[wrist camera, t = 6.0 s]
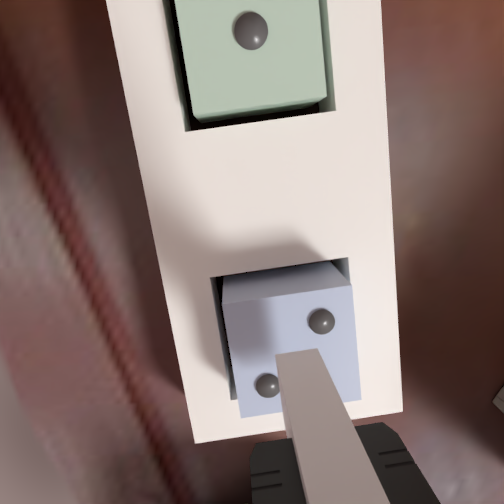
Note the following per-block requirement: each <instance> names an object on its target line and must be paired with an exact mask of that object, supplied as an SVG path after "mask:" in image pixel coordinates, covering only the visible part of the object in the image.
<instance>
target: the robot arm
mask: <svg viewBox="0 0 504 504" xmlns="http://www.w3.org/2000/svg"><path fill="white" fill-rule="evenodd" d="M275 359H276V367H277V374H278V381H279V389H280V396H281V403H282V410H283V418H284V424H285V429H286V434H287V439H281V440H275V441H268V442H262V443H256V445H255V447H254V449H253V452H252V454H251V456H250V473H251V488H252V503H253V504H441V503H440V502H439V500H438V499H437V497H436V495H435V494H434V492H433V490H432V489H431V487H430V486H429V484H428V482H427V481H426V479H425V477H424V476H423V474H422V473H421V471H420V469H419V468H418V466H417V464H415V462H414V460H413V458H412V456H411V455H410V453H409V451H407V448H406V447H405V445H404V443H403V442H402V440H401V438H400V437H399V435H398V434H397V433H396V432H395V431H393V430H392V429H391V428H390V427H388V426H387V425H386V424H384V423H383V422H380V423H374V424H368V425H361V426H355V427H354V425H353V423H352V421H351V419H350V417H349V415H348V412H347V410H346V408H345V406H344V404H343V402H342V400H341V397H340V395H339V393H338V391H337V389H336V387H335V385H334V382H333V380H332V378H331V376H330V374H329V372H328V370H327V368H326V365H325V363H324V361H323V359H322V357H321V355H320V353H319V350H318V348H315V349H308V350H302V351H295V352H289V353H282V354H275Z"/></svg>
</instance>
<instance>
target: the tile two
mask: <svg viewBox="0 0 504 504" xmlns="http://www.w3.org/2000/svg"><path fill="white" fill-rule="evenodd" d="M222 307H223V313H224V319H225V325H226V331H227V338H228V344H229V350H230V356H231V362H232V368H233V374H234V380H235V386H236V392H237V398H238V404H239V410H240V416H241V418H247V417H253V416H260V415H266V414H273V413H279V412H283V410H282V403H281V396H280V389H279V381H278V374H277V367H276V359H275V354H282V353H289V352H295V351H302V350H308V349H315V348H318V350H319V353H320V355H321V357H322V359H323V361H324V363H325V365H326V368H327V370H328V372H329V374H330V376H331V378H332V380H333V382H334V385H335V387H336V389H337V391H338V393H339V395H340V397H341V400H342V402H343V403H344V402H351V401H357V400H362V399H361V387H360V375H359V362H358V350H357V338H356V326H355V314H354V301H353V289H352V284H351V283H350V282H349V281H348V280H347V279H346V278H345V277H344V276H343V275H342V274H341V273H340V272H339V271H338V269H337V268H336V267H335V266H334V265H333V264H332V263H331V262H330V261H326V262H319V263H312V264H306V265H299V266H292V267H285V268H279V269H272V270H265V271H258V272H251V273H245V274H238V275H231V276H224V280H223V296H222Z"/></svg>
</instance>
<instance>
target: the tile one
mask: <svg viewBox="0 0 504 504" xmlns="http://www.w3.org/2000/svg"><path fill="white" fill-rule="evenodd" d="M175 6H176V12H177V18H178V24H179V30H180V36H181V42H182V48H183V55H184V61H185V67H186V73H187V79H188V85H189V91H190V97H191V103H192V109H193V115H194V116H195V117H196V118H197V119H198V121H199V122H200V123H204V122H211V121H219V120H226V119H233V118H240V117H247V116H254V115H261V114H268V113H275V112H282V111H290V110H297V109H304V108H309V107H311V106H312V105H314V104H315V103H317V102H319V101H320V100H322V99H323V98H325V97H327V91H326V80H325V68H324V57H323V46H322V34H321V23H320V11H319V0H175Z"/></svg>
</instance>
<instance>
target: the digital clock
mask: <svg viewBox="0 0 504 504" xmlns="http://www.w3.org/2000/svg"><path fill="white" fill-rule="evenodd" d="M493 403H494V404H495V405H496V406H497V407H498V408H499V409H500V410H501V411H502V412H503V413H504V386H503V387H502V388H501V390H500V391H499V393H498V394H497V395H496V397H495V398H494V400H493Z"/></svg>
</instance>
